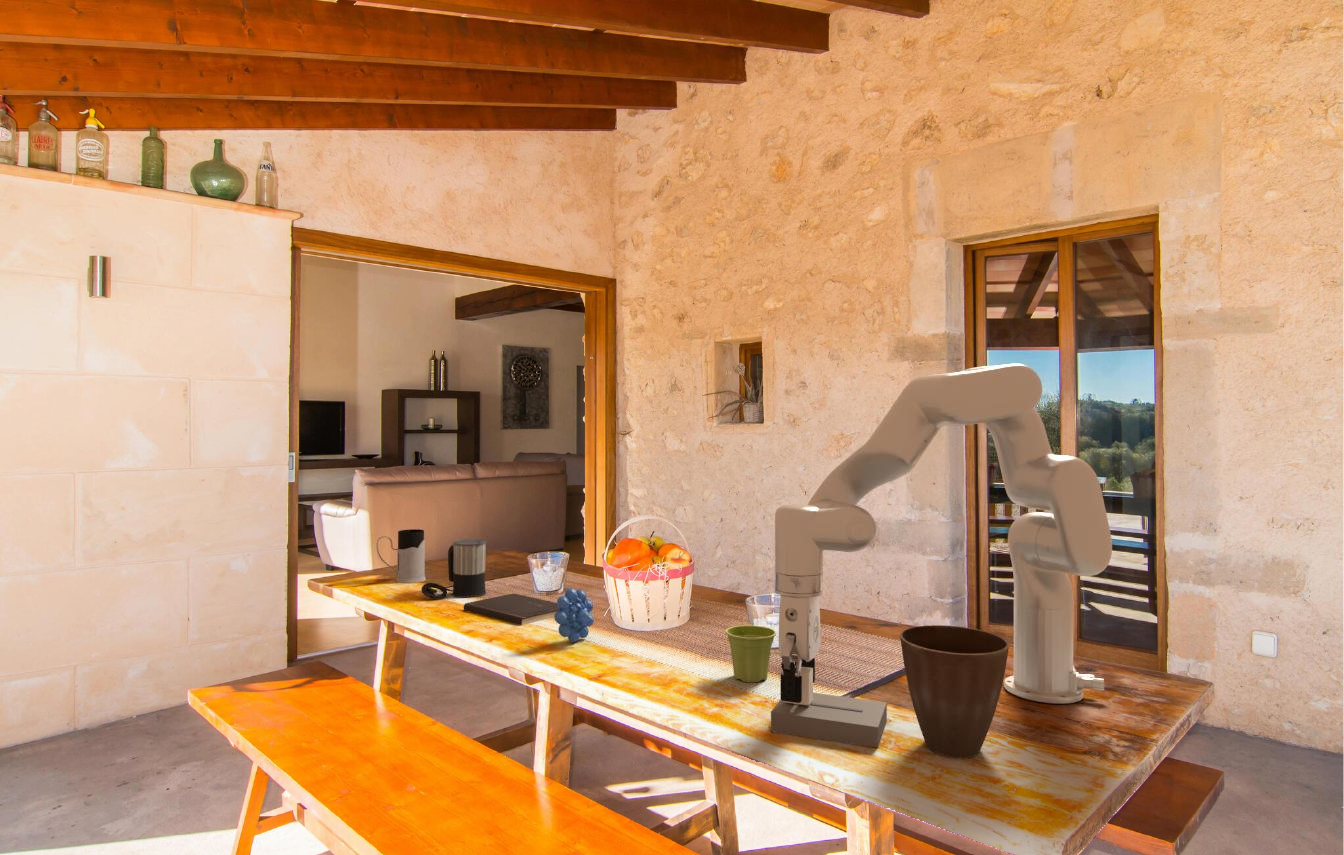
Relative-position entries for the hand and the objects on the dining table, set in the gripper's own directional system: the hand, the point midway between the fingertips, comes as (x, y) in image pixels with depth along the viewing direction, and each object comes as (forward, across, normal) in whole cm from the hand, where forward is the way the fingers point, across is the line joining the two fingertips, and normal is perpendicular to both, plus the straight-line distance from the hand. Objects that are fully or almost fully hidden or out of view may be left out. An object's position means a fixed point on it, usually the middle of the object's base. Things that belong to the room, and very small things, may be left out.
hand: (798, 691), depth 122 cm
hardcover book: (+6, +45, +82) cm, 94 cm away
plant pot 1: (+5, +18, +13) cm, 23 cm away
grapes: (+5, +26, +54) cm, 60 cm away
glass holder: (+5, +65, +136) cm, 151 cm away
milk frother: (+5, +54, +108) cm, 121 cm away
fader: (+1, 0, 0) cm, 1 cm away
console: (+5, 0, -5) cm, 7 cm away
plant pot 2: (+5, -1, -23) cm, 24 cm away
